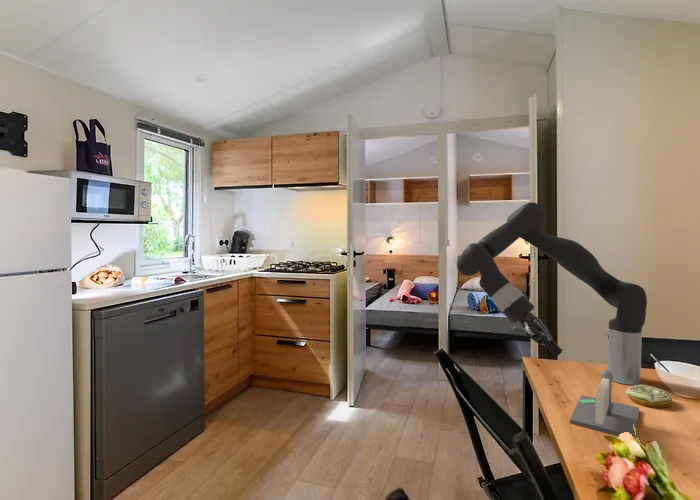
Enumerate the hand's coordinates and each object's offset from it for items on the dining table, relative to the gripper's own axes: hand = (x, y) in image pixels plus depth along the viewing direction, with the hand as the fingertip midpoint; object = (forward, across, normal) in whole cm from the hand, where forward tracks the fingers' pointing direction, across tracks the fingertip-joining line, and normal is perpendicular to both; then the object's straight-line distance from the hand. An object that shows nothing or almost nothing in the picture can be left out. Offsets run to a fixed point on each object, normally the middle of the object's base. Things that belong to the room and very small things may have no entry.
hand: (559, 354), depth 104 cm
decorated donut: (+26, -30, 0) cm, 40 cm away
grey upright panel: (+19, -7, -5) cm, 21 cm away
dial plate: (+20, -10, -6) cm, 23 cm away
